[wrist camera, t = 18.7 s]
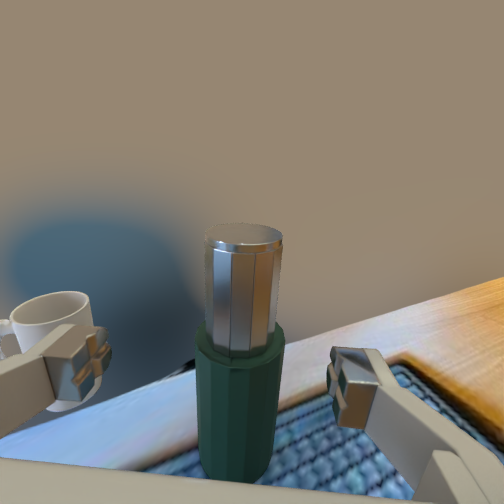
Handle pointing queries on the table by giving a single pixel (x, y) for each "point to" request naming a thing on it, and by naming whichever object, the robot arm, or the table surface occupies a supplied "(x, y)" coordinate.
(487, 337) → the table surface
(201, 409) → the bottle
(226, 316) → the cap
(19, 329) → the mug
